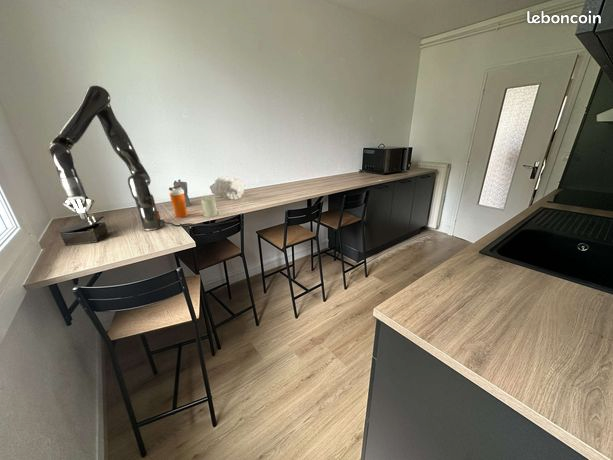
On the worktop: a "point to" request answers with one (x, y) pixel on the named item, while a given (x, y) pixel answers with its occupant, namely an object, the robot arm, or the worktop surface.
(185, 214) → the shaker bottle
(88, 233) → the dark brown box
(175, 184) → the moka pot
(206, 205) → the can
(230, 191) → the crumpled white cloth
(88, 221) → the lid
